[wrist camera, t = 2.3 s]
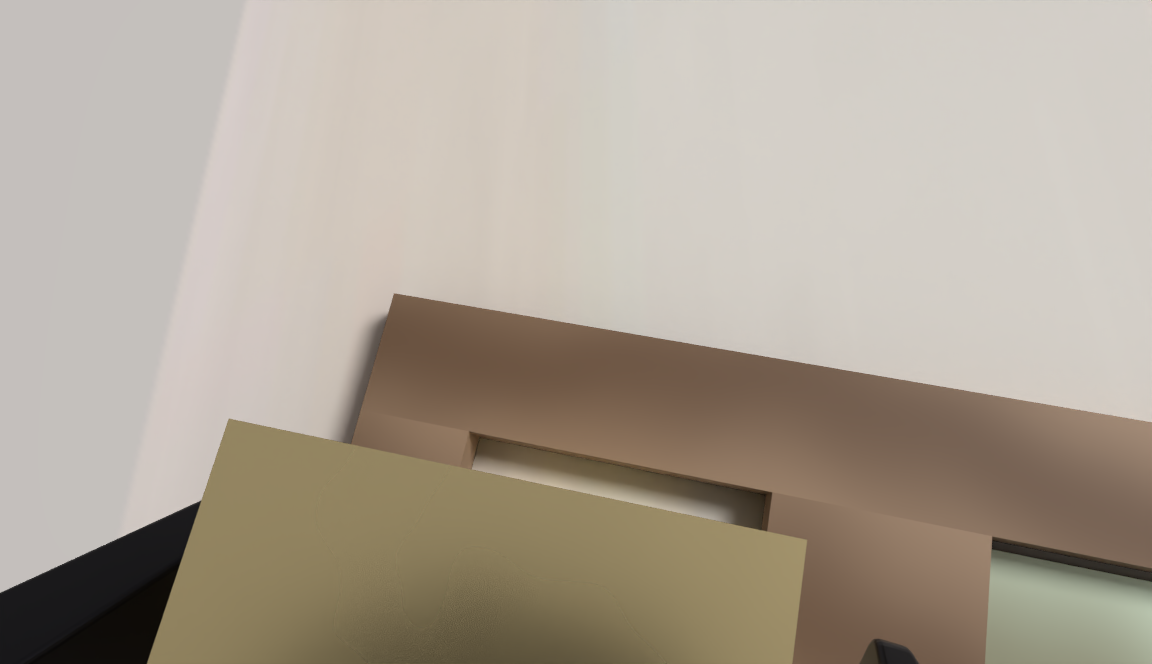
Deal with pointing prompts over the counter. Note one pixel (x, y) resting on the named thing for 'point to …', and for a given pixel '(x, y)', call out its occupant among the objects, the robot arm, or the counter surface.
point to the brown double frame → (815, 475)
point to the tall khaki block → (459, 569)
